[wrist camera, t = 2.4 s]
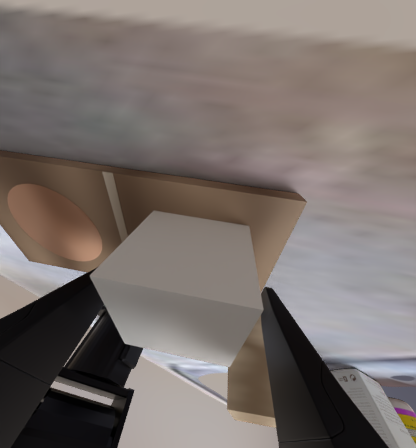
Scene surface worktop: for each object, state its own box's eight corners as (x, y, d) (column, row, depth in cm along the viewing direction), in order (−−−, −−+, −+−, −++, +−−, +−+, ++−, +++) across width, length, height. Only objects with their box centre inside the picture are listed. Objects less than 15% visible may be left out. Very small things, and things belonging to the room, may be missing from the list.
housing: (160, 272, 13) (124, 343, 8) (153, 210, 9) (89, 275, 5) (230, 285, 12) (229, 367, 8) (249, 225, 9) (263, 309, 5)
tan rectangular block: (234, 327, 18) (234, 419, 13) (229, 309, 16) (227, 409, 11) (268, 329, 17) (286, 429, 12) (267, 310, 15) (288, 420, 10)
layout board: (42, 252, 16) (28, 261, 14) (-33, 145, 10) (-63, 147, 9) (253, 292, 14) (254, 305, 13) (298, 193, 9) (307, 202, 8)
